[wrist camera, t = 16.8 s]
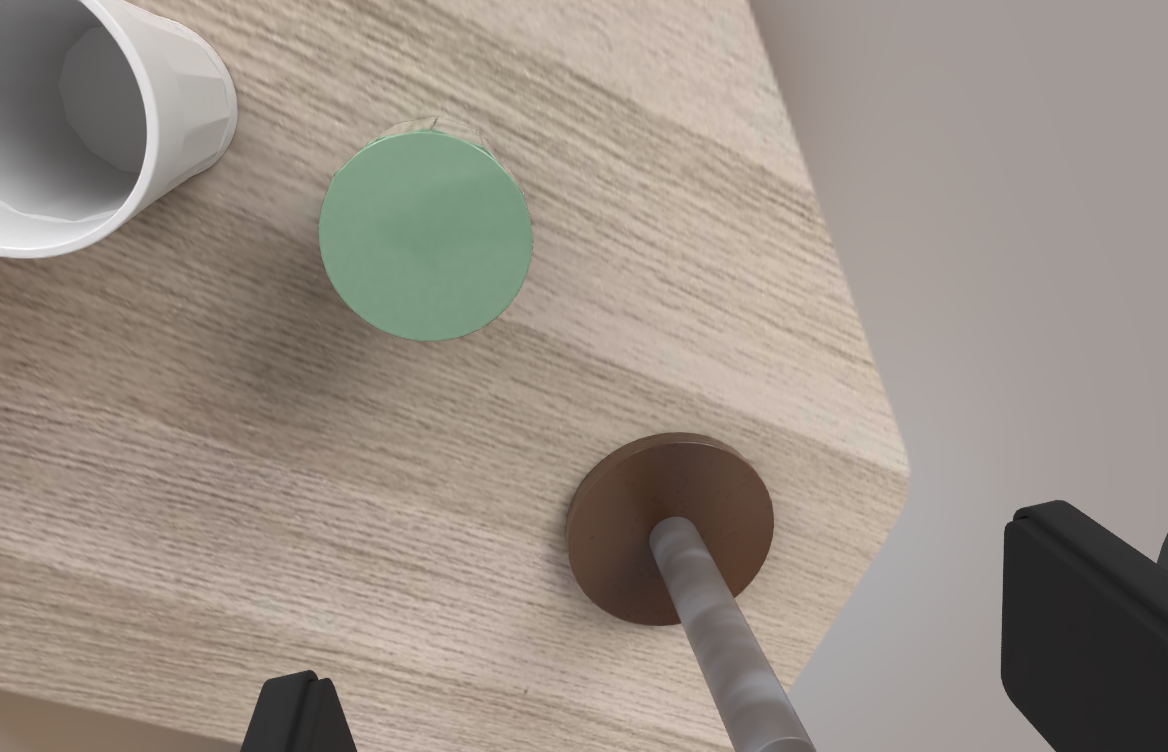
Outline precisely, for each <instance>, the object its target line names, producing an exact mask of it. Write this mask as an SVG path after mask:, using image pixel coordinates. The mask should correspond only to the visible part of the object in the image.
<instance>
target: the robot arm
mask: <svg viewBox="0 0 1168 752" xmlns="http://www.w3.org/2000/svg"><path fill="white" fill-rule="evenodd" d="M1002 604H1003V605H1002V643H1001V645H1002V647H1001V679H1002V683H1003V686H1004V689H1005V691H1006V693H1007V695H1008V697H1009V698H1010V700H1011V701H1012V702H1013V703H1014V705H1015V706H1016V707H1017V708H1018V709H1019V710H1020V712H1022V714H1023V715H1024V716H1025V717H1026V718H1027V719H1028V721H1029V722H1030V723H1031V724H1032V725H1033V726H1034V727H1035V729H1036V730H1037V731H1038V732H1039V733H1040V734H1041V735H1042V736H1043V738H1044V739H1045V740H1046V741H1047V742H1048V743H1049V744H1050V745H1051V747H1052V748H1053V749H1054V750H1055V751H1056V752H1168V571H1166V570H1165V569H1164V568H1162V567H1161V566H1159V565H1158V564H1156V563H1155V562H1153V561H1152V560H1150V559H1149V558H1148V557H1146V556H1145V555H1143V554H1142V553H1140V552H1139V551H1137V550H1136V549H1135V548H1133V547H1132V546H1130V545H1129V544H1127V543H1126V542H1124V541H1123V540H1122V539H1120V538H1118V537H1117V536H1116V535H1114V534H1113V533H1111V532H1110V531H1109V530H1107V529H1106V528H1104V527H1103V526H1101V525H1100V524H1098V523H1097V522H1095V521H1094V520H1093V519H1091V518H1090V517H1088V516H1087V515H1085V514H1084V513H1082V512H1081V511H1080V510H1078V509H1077V508H1075V507H1074V506H1072V505H1071V504H1069V503H1067V502H1065V501H1062V500H1055V501H1051V502H1047V503H1042V504H1038V505H1033V506H1029V507H1024V508H1021V509H1019V510H1017V511H1016V513H1015V514H1014V517H1013V521H1012V522H1009V523H1007V525H1006V527H1005V531H1004V563H1003V603H1002ZM240 752H357V749H356V747H355V744H354V741H353V738H352V735H351V732H350V730H349V727H348V724H347V721H346V718H345V715H344V713H343V710H342V707H341V704H340V701H339V699H338V696H337V693H336V690H335V687H334V685H333V683H332V681H331V680H330V678H324V679H320V680H318V677H317V675H316V674H315V673H314V672H313V671H311V670H308V671H303V672H299V673H294V674H290V675H286V676H281V677H277V678H272V679H268V680H267V681H266V682H265V683H264V685H263V687H262V690H261V692H260V695H259V698H258V701H257V704H256V707H255V710H254V713H253V716H252V719H251V722H250V724H249V727H248V730H247V733H246V736H245V739H244V742H243V745H242V748H241V751H240Z"/></svg>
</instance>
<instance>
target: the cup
mask: <svg viewBox="0 0 1168 752" xmlns="http://www.w3.org/2000/svg"><path fill="white" fill-rule="evenodd" d="M237 116H238V106H237V97H236V92H235V88H234V85H233V82H232V79H231V77H230V75H229V72H228V70H227V68H226V67H225V65H224V63H223V62H222V60H221V59H220V57H219V56H218V55H217V53H216V52H215V51H214V50H213V49H212V47H211V46H210V45H209V44H208V43H207V42H206V41H205V40H203V39H202V38H201V37H200V36H199V35H197V34H196V33H195V32H193V31H192V30H190V29H189V28H187V27H185V26H183V25H182V24H180V23H177V22H175V21H173V20H170V19H167V18H164V17H161V16H156V15H154V14H152V13H150V12H148V11H145V10H143V9H141V8H139V7H137V6H135V5H132V4H130V3H128V2H126V1H124V0H0V257H6V258H17V259H37V258H48V257H55V256H60V255H65V254H69V253H72V252H75V251H78V250H81V249H84V248H86V247H88V246H91V245H93V244H95V243H97V242H98V241H100V240H102V239H104V238H105V237H107V236H108V235H110V234H111V233H112V232H114V231H115V230H116V229H118V228H119V227H120V226H122V225H123V224H124V223H126V222H127V221H129V220H130V219H131V218H133V217H134V216H135V215H137V214H138V213H139V212H141V211H142V210H143V209H145V208H146V207H147V206H149V205H150V204H151V203H153V202H154V201H156V200H157V199H159V198H160V197H162V196H163V195H165V194H166V193H168V192H169V191H171V190H172V189H173V188H175V187H176V186H178V185H179V184H181V183H182V182H184V181H185V180H187V179H188V178H190V177H191V176H193V175H196V174H198V173H201V172H202V171H204V170H206V169H208V168H209V167H210V166H212V165H213V164H214V163H215V162H217V161H218V160H219V159H220V157H221V156H222V155H223V154H224V153H225V151H226V150H227V148H228V146H229V145H230V143H231V141H232V138H233V136H234V132H235V129H236V124H237Z"/></svg>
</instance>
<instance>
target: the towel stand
mask: <svg viewBox="0 0 1168 752" xmlns="http://www.w3.org/2000/svg"><path fill="white" fill-rule="evenodd" d="M773 528H774V513H773V507H772V502H771V499H770V496H769V493H768V490H767V488H766V486H765V484H764V483H763V481H762V479H761V478H760V477H759V475H758V474H757V472H756V471H755V470H754V468H753V467H752V466H751V465H750V463H749V462H748V461H747V460H746V459H745V458H744V457H743V456H742V455H741V454H740V453H738V452H737V451H736V450H734V449H733V448H732V447H730V446H728V445H726V444H725V443H723V442H721V441H719V440H716V439H713V438H710V437H708V436H703V435H699V434H693V433H682V432H680V433H664V434H658V435H652V436H649V437H645V438H642V439H639V440H637V441H634V442H632V443H629V444H627V445H625V446H623V447H622V448H620V449H618V450H616V451H615V452H613V453H612V454H611V455H609V456H608V457H606V458H605V459H604V460H603V461H601V462H600V463H599V464H598V465H597V466H596V467H595V468H594V469H593V470H592V471H591V472H590V474H589V475H588V476H587V477H586V478H585V480H584V481H583V483H582V484H581V486H580V487H579V489H578V490H577V492H576V495H575V497H574V499H573V501H572V503H571V506H570V509H569V513H568V517H567V522H566V546H567V552H568V557H569V561H570V564H571V568H572V571H573V574H574V576H575V578H576V580H577V582H578V584H579V586H580V587H581V589H582V590H583V592H584V593H585V594H586V595H587V596H588V597H589V598H590V599H591V601H592V602H594V603H595V604H596V605H597V606H599V607H600V608H601V609H602V610H604V611H606V612H607V613H609V614H611V615H613V616H615V617H617V618H620V619H622V620H625V621H628V622H632V623H635V624H642V625H650V626H665V625H675V624H680V623H682V625H683V628H684V630H685V632H686V635H687V637H688V640H689V642H690V644H691V647H692V649H693V652H694V654H695V656H696V659H697V661H698V664H699V666H700V668H701V671H702V673H703V675H704V678H705V680H706V683H707V685H708V687H709V690H710V692H711V695H712V697H713V699H714V702H715V704H716V707H717V709H718V711H719V714H720V716H721V718H722V721H723V723H724V726H725V728H726V730H727V733H728V735H729V738H730V740H731V742H732V745H733V747H734V750H735V752H816V749H815V747H814V746H813V744H812V742H811V740H810V738H809V737H808V734H807V733H806V731H805V729H804V727H803V725H802V723H801V721H800V720H799V718H798V716H797V714H796V712H795V710H794V708H793V707H792V705H791V703H790V701H789V699H788V697H787V695H786V694H785V692H784V690H783V688H782V686H781V684H780V683H779V681H778V679H777V677H776V675H775V673H774V671H773V670H772V668H771V666H770V664H769V662H768V660H767V658H766V657H765V655H764V653H763V651H762V649H761V647H760V645H759V644H758V642H757V640H756V638H755V636H754V634H753V633H752V631H751V629H750V627H749V625H748V623H747V621H746V620H745V618H744V616H743V614H742V612H741V610H740V608H739V607H738V605H737V603H736V601H735V599H734V598H735V597H737V596H738V595H739V594H740V593H741V592H742V591H743V590H744V589H745V588H746V587H747V586H748V585H749V584H750V583H751V581H752V580H753V579H754V577H755V576H756V575H757V573H758V572H759V570H760V568H761V566H762V565H763V563H764V561H765V559H766V556H767V554H768V551H769V549H770V545H771V541H772V537H773Z"/></svg>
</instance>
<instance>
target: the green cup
mask: <svg viewBox="0 0 1168 752" xmlns="http://www.w3.org/2000/svg"><path fill="white" fill-rule="evenodd" d="M318 229H319V231H318V237H319V248H320V253H321V257H322V262H323V265H324V267H325V270H326V273H327V275H328V277H329V279H330V281H331V283H332V285H333V287H334V289H335V290H336V291H337V293H338V294H339V296H340V297H341V299H342V300H343V301H344V302H345V303H346V304H347V305H348V306H349V308H350V309H351V310H352V311H354V312H355V313H356V314H357V315H358V316H359V317H360V318H362V319H363V320H365V321H366V322H368V323H369V324H371V325H372V326H374V327H376V328H378V329H380V330H382V331H384V332H386V333H388V334H391V335H394V336H397V337H400V338H404V339H409V340H415V341H425V342H427V341H444V340H451V339H455V338H458V337H462V336H465V335H468V334H470V333H472V332H475V331H477V330H479V329H480V328H482V327H484V326H486V325H487V324H489V323H490V322H491V321H493V320H494V319H495V318H497V317H498V316H499V315H500V314H501V313H502V312H503V311H504V310H505V309H506V308H507V307H508V306H509V304H510V303H511V302H512V301H513V299H514V298H515V297H516V295H517V293H518V292H519V290H520V288H521V286H522V284H523V282H524V280H525V277H526V275H527V272H528V268H529V264H530V260H531V253H532V249H533V246H532V243H533V236H532V229H531V221H530V217H529V213H528V210H527V206H526V201H525V195H524V193H523V191H522V189H521V187H520V185H519V184H518V182H517V180H516V179H515V177H514V176H513V174H512V172H511V171H510V169H509V168H508V166H507V164H506V163H505V161H504V160H503V159H502V158H501V157H500V156H499V154H498V153H497V152H496V151H495V150H494V149H493V147H492V146H491V145H490V144H489V143H488V142H487V140H486V139H485V138H484V137H483V136H482V134H481V133H478V132H477V131H476V130H474V129H472V128H469V127H466V126H463V125H461V124H458V123H455V122H453V121H450V120H447V119H444V118H442V117H438V119H436V117H435V116H434V117H429V118H423V119H418V120H412V121H407V122H402V123H397V124H396V125H393V126H391V127H390V128H388V129H387V130H386V131H384V132H383V133H381V134H380V135H378V136H377V137H375V138H374V139H372V140H371V141H370V142H369V143H368V144H367V145H366V146H365V147H363V148H362V149H361V150H360V151H359V152H358V153H357V154H356V155H355V156H354V157H352V158H351V159H350V160H349V161H348V162H347V163H346V164H345V165H344V166H343V167H342V168H341V169H340V170H338V171H337V172H336V173H335V174H334V178H332V179H331V182H330V185H329V189H328V191H327V193H326V195H325V198H324V201H323V204H322V208H321V213H320V218H319V227H318Z"/></svg>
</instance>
